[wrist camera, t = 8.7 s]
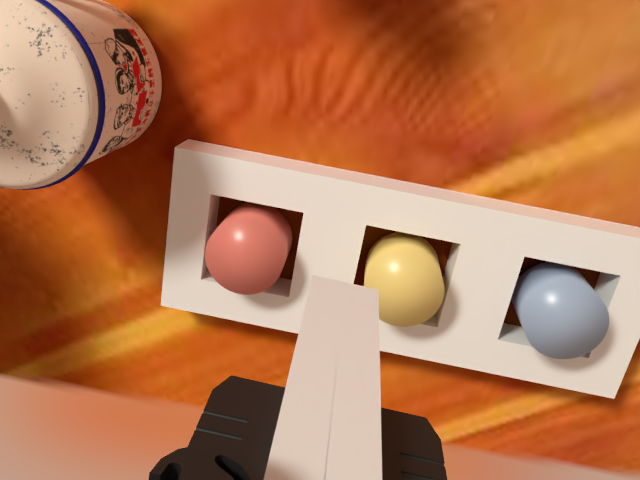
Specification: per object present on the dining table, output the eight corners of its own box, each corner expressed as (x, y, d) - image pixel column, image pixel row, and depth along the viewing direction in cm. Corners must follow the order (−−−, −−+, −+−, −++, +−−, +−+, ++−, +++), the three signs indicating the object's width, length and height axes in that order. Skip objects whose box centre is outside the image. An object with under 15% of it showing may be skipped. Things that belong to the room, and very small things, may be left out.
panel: (174, 288, 39) (160, 305, 37) (188, 138, 35) (174, 147, 33) (600, 375, 38) (614, 398, 36) (658, 230, 35) (678, 245, 32)
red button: (217, 262, 37) (201, 286, 34) (225, 195, 36) (209, 213, 32) (286, 276, 37) (276, 301, 34) (297, 210, 36) (288, 229, 32)
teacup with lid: (160, 167, 36) (65, 228, 25) (16, 136, 36) (-139, 184, 26) (181, -47, 32) (76, -84, 21) (18, -80, 32) (-168, -133, 21)
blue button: (502, 320, 37) (515, 350, 33) (523, 255, 35) (538, 279, 32) (574, 334, 36) (593, 366, 33) (598, 269, 35) (621, 296, 32)
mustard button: (359, 291, 37) (356, 317, 34) (373, 225, 35) (372, 246, 32) (429, 305, 37) (433, 333, 33) (446, 239, 35) (453, 262, 32)
